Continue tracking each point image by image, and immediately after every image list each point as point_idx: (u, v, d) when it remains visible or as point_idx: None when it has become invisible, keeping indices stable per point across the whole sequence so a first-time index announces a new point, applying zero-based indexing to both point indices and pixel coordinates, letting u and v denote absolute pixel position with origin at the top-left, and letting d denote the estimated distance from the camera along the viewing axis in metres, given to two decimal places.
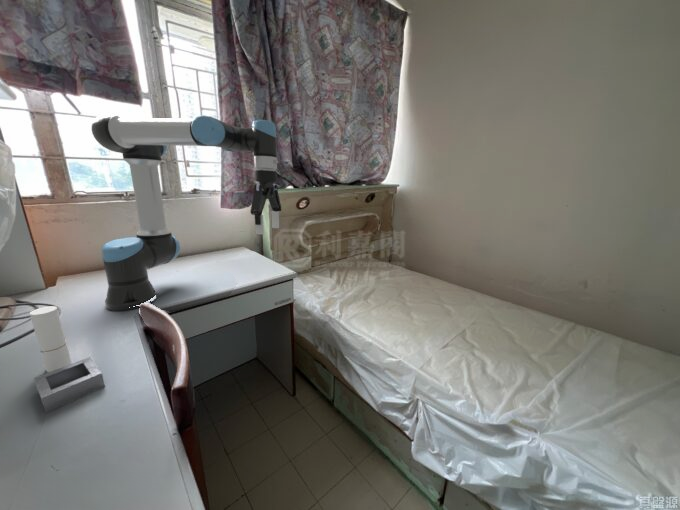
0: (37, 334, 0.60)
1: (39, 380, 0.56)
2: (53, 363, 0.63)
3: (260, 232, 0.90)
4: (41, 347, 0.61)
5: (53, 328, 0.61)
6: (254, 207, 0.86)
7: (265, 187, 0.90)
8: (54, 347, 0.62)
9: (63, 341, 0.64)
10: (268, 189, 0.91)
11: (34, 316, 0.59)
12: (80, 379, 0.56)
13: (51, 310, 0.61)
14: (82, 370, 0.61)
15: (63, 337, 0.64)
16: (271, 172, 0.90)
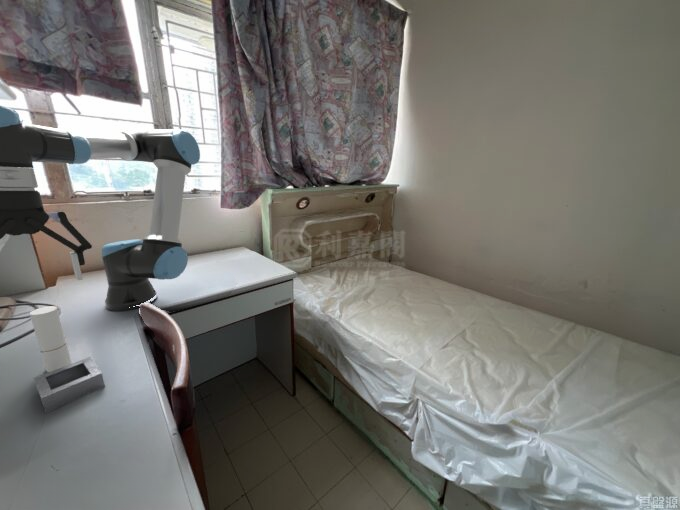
0: (37, 334, 0.60)
1: (39, 380, 0.56)
2: (53, 363, 0.63)
3: None
4: (41, 347, 0.61)
5: (53, 328, 0.61)
6: None
7: None
8: (54, 347, 0.62)
9: (63, 341, 0.64)
10: (5, 222, 0.53)
11: (34, 316, 0.59)
12: (80, 379, 0.56)
13: (51, 310, 0.61)
14: (82, 370, 0.61)
15: (63, 337, 0.64)
16: None
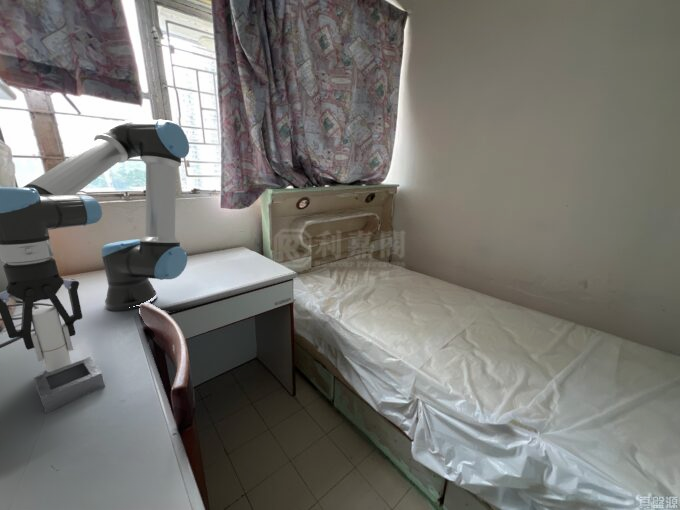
0: (37, 334, 0.60)
1: (39, 380, 0.56)
2: (53, 363, 0.63)
3: (37, 357, 0.61)
4: (41, 347, 0.61)
5: (53, 328, 0.61)
6: (6, 329, 0.57)
7: (14, 290, 0.56)
8: (54, 347, 0.62)
9: (63, 341, 0.64)
10: (25, 293, 0.57)
11: (34, 316, 0.59)
12: (80, 379, 0.56)
13: (51, 310, 0.61)
14: (82, 370, 0.61)
15: (63, 337, 0.64)
16: (16, 268, 0.55)
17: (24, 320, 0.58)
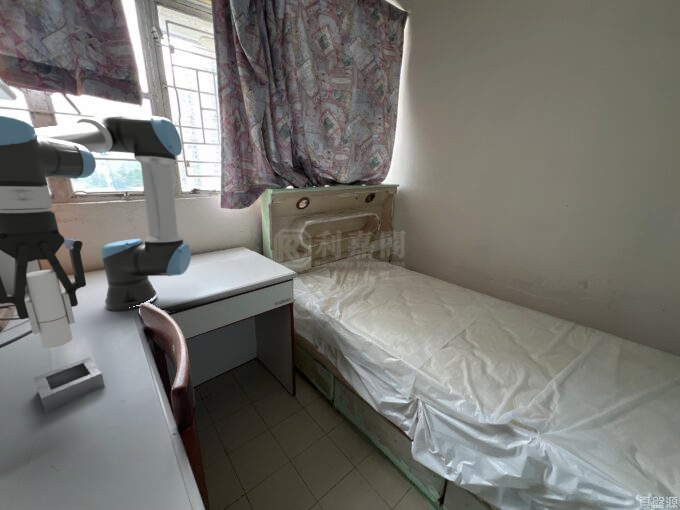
0: (32, 301, 0.50)
1: (39, 380, 0.56)
2: (52, 338, 0.53)
3: (32, 330, 0.51)
4: (37, 317, 0.51)
5: (51, 295, 0.52)
6: None
7: (5, 245, 0.47)
8: (52, 318, 0.52)
9: (63, 311, 0.54)
10: (18, 249, 0.47)
11: (29, 278, 0.49)
12: (80, 379, 0.56)
13: (49, 273, 0.51)
14: (82, 370, 0.61)
15: (63, 307, 0.54)
16: (7, 217, 0.45)
17: (16, 283, 0.48)
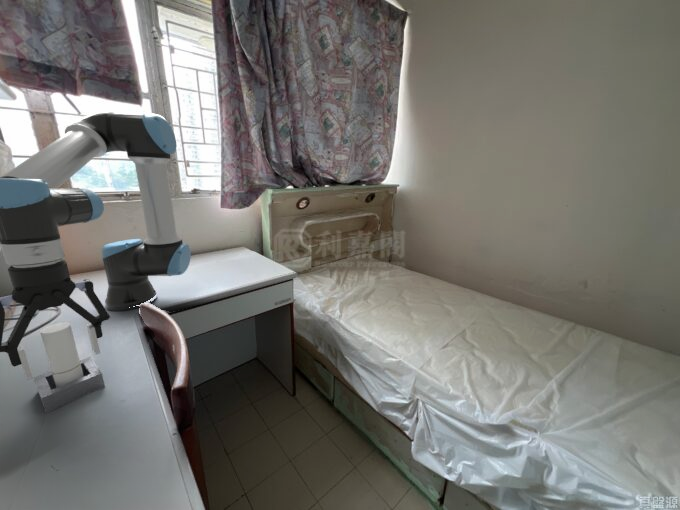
0: (48, 355, 0.54)
1: (39, 380, 0.56)
2: None
3: (25, 375, 0.52)
4: (53, 369, 0.55)
5: (66, 347, 0.55)
6: None
7: (20, 296, 0.49)
8: (67, 368, 0.55)
9: (77, 361, 0.57)
10: (32, 299, 0.50)
11: (45, 335, 0.53)
12: (80, 379, 0.56)
13: (64, 327, 0.55)
14: (82, 370, 0.61)
15: (77, 356, 0.57)
16: (23, 272, 0.48)
17: (17, 331, 0.49)
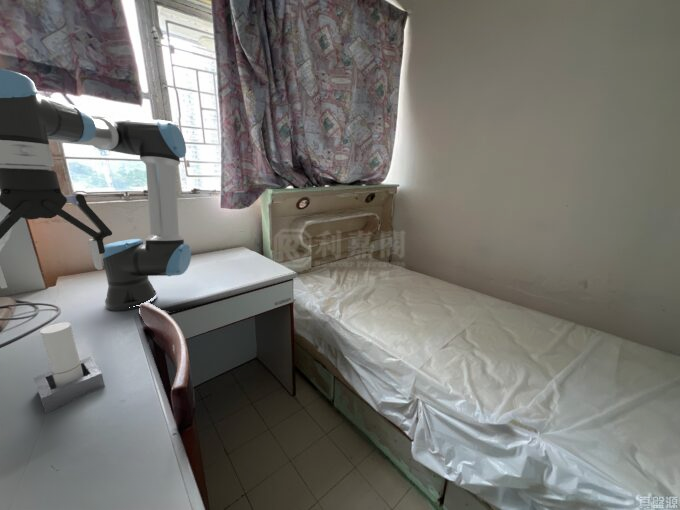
0: (49, 355, 0.54)
1: (39, 380, 0.56)
2: None
3: None
4: (53, 369, 0.55)
5: (66, 347, 0.55)
6: None
7: (8, 200, 0.47)
8: (67, 368, 0.55)
9: (77, 361, 0.57)
10: (20, 204, 0.48)
11: (45, 335, 0.53)
12: (80, 379, 0.56)
13: (64, 327, 0.55)
14: (82, 370, 0.61)
15: (77, 357, 0.57)
16: (10, 171, 0.46)
17: None
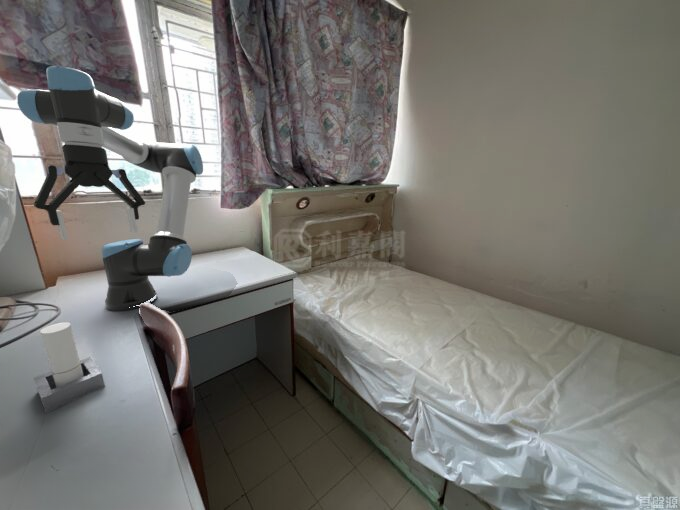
0: (49, 355, 0.54)
1: (39, 380, 0.56)
2: None
3: (62, 236, 0.62)
4: (53, 369, 0.55)
5: (66, 347, 0.55)
6: (37, 199, 0.58)
7: (71, 170, 0.61)
8: (67, 368, 0.55)
9: (77, 361, 0.57)
10: (80, 173, 0.61)
11: (45, 335, 0.53)
12: (80, 379, 0.56)
13: (64, 327, 0.55)
14: (82, 370, 0.61)
15: (77, 357, 0.57)
16: (75, 147, 0.59)
17: (60, 195, 0.60)
